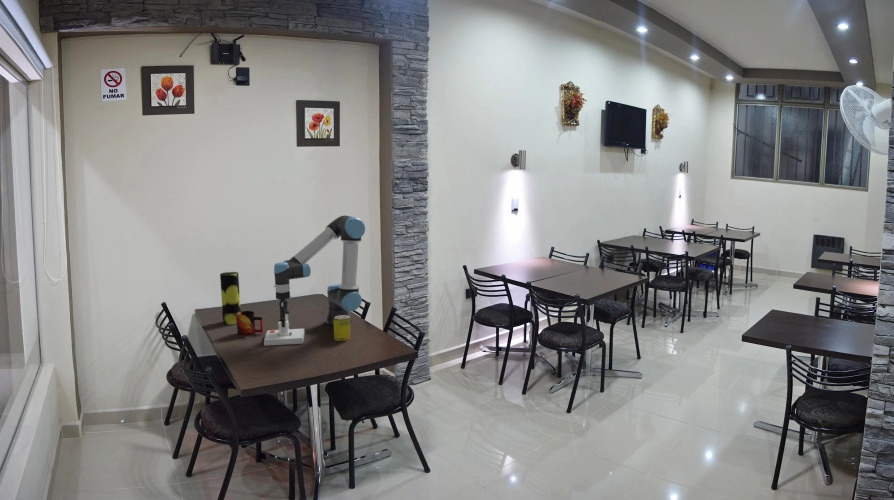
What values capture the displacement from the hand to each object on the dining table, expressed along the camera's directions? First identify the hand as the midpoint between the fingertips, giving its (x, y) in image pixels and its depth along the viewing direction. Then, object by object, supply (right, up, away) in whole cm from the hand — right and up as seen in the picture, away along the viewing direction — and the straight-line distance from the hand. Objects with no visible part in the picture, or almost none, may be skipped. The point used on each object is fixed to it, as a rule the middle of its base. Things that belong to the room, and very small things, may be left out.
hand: (284, 329), depth 338 cm
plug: (-1, -6, +1) cm, 6 cm away
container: (-41, -1, +35) cm, 54 cm away
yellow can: (+31, -6, +2) cm, 32 cm away
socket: (0, -6, +1) cm, 6 cm away
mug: (-23, -4, +13) cm, 27 cm away
